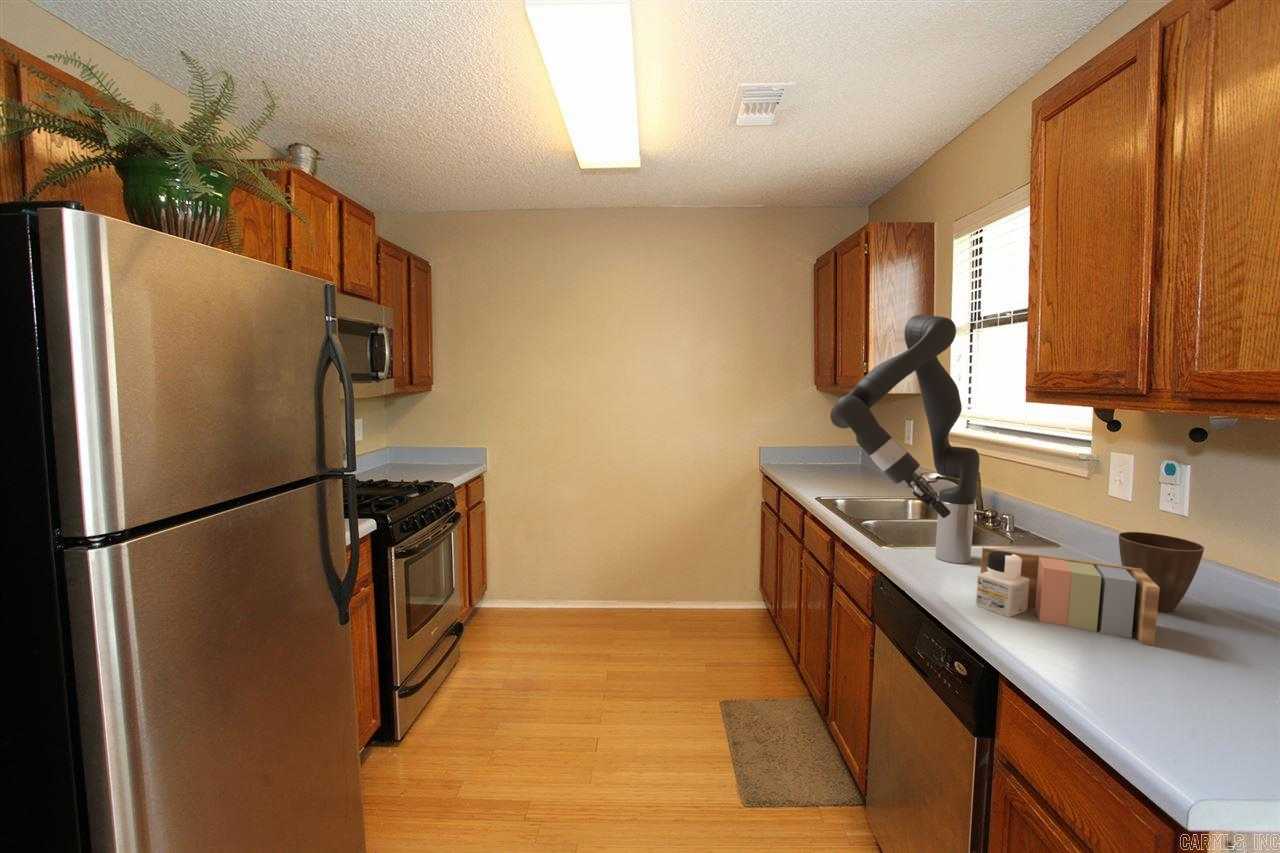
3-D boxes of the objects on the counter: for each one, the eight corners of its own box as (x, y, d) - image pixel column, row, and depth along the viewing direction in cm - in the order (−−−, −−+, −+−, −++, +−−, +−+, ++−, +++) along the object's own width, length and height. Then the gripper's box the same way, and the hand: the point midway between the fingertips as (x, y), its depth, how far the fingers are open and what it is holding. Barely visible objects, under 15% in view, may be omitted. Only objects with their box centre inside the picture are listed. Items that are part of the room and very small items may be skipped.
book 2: (1061, 611, 133) (1065, 560, 132) (1088, 616, 130) (1092, 564, 129) (1067, 626, 125) (1072, 572, 124) (1096, 631, 122) (1101, 576, 121)
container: (974, 605, 135) (978, 551, 134) (993, 599, 139) (996, 547, 138) (1009, 617, 129) (1014, 561, 128) (1027, 611, 133) (1032, 555, 131)
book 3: (1092, 617, 130) (1096, 565, 129) (1120, 622, 127) (1125, 569, 126) (1100, 632, 122) (1105, 577, 121) (1131, 637, 120) (1136, 581, 119)
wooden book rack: (979, 594, 142) (982, 547, 141) (1136, 621, 128) (1140, 568, 127) (981, 614, 130) (984, 562, 129) (1154, 646, 116) (1159, 588, 115)
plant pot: (1202, 609, 135) (1209, 542, 134) (1191, 625, 126) (1198, 554, 125) (1121, 590, 147) (1126, 528, 145) (1105, 604, 138) (1111, 538, 136)
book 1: (1034, 606, 135) (1038, 556, 134) (1060, 611, 133) (1065, 560, 132) (1039, 620, 127) (1043, 567, 126) (1067, 625, 125) (1071, 571, 124)
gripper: (904, 454, 136) (960, 511, 131) (908, 447, 147) (960, 500, 142) (879, 474, 139) (933, 531, 134) (885, 466, 150) (935, 518, 146)
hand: (947, 515), depth 138 cm, fingers closed
